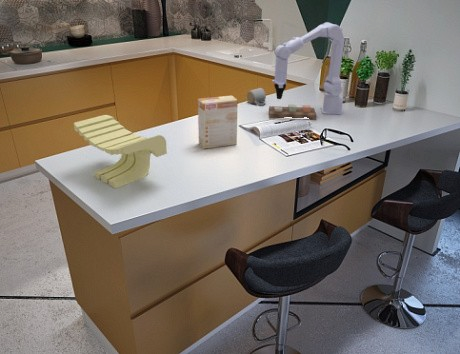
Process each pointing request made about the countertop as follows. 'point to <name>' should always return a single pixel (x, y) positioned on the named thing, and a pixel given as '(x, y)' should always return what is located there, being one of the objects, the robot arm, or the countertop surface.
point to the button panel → (291, 113)
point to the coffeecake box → (217, 121)
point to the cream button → (278, 109)
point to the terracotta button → (306, 108)
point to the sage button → (292, 108)
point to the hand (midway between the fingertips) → (279, 98)
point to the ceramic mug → (257, 96)
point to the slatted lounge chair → (120, 149)
